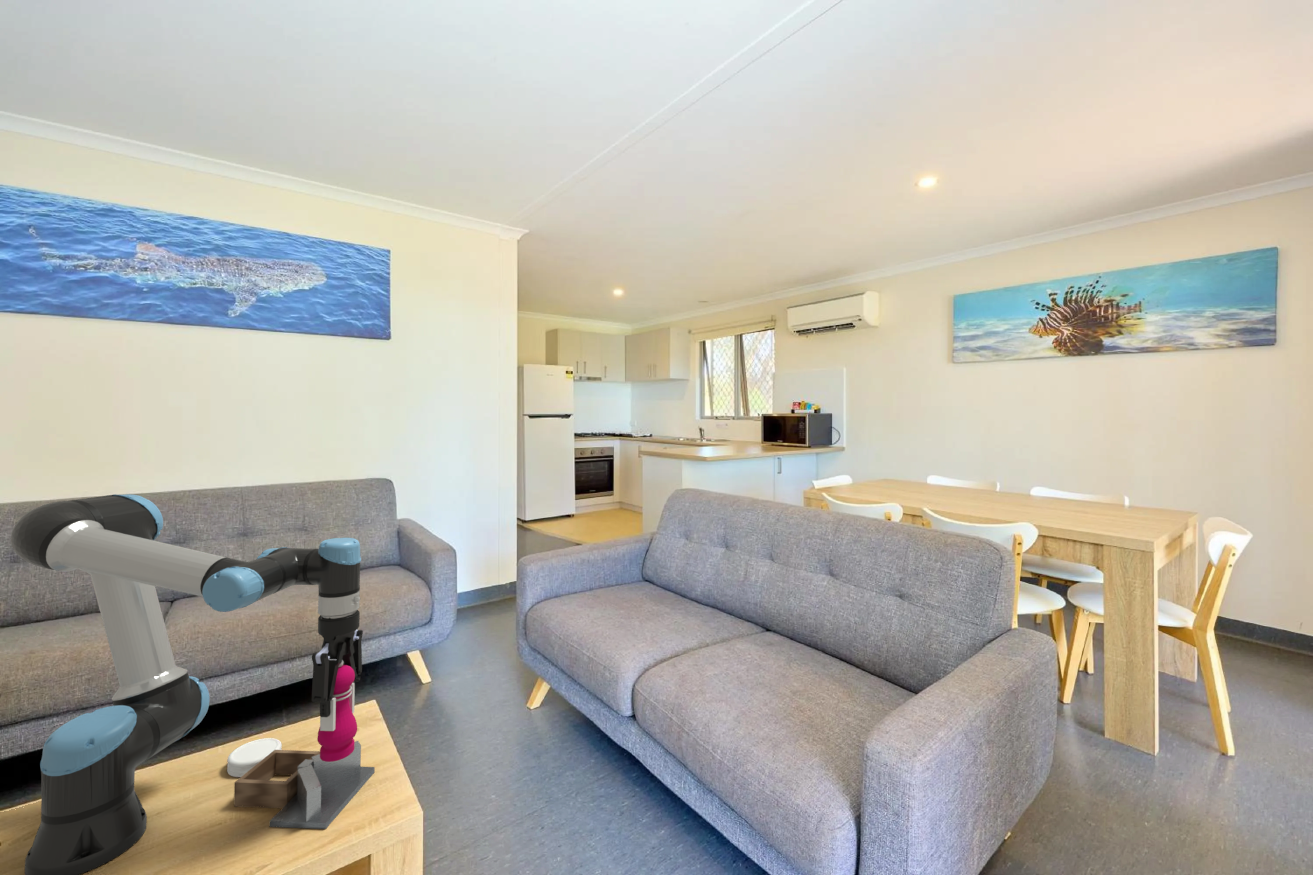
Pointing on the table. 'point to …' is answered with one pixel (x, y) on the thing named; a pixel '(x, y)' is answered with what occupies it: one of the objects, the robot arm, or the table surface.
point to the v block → (323, 791)
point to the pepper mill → (340, 720)
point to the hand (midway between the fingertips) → (337, 720)
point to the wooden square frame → (266, 792)
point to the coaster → (250, 755)
